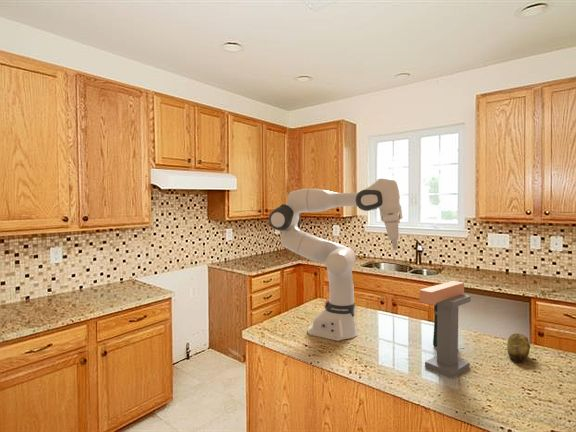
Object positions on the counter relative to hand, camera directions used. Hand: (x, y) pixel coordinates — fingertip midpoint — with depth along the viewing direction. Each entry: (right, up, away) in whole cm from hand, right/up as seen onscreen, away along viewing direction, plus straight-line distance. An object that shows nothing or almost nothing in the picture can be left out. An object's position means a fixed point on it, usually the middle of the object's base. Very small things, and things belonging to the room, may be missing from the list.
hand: (395, 247), depth 142 cm
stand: (+11, -41, -23) cm, 48 cm away
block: (+8, -15, -26) cm, 31 cm away
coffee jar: (+19, -40, -5) cm, 45 cm away
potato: (+42, -41, -15) cm, 60 cm away
